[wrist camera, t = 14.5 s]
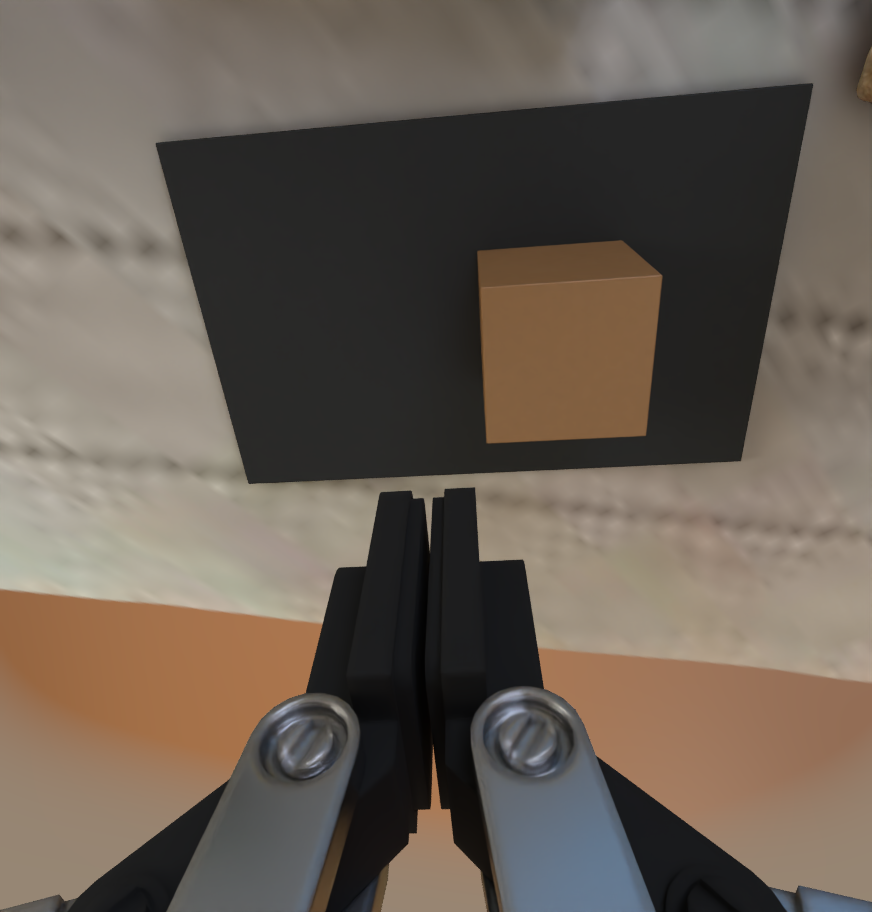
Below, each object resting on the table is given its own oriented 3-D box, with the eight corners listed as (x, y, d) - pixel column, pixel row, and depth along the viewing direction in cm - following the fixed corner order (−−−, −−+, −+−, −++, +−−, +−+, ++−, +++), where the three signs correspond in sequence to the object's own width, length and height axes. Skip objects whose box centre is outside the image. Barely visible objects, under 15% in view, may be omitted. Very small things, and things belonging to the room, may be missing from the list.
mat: (251, 478, 33) (248, 484, 32) (161, 142, 25) (154, 143, 24) (736, 455, 31) (741, 461, 30) (806, 83, 23) (814, 83, 22)
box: (646, 436, 23) (613, 374, 28) (662, 275, 20) (622, 239, 25) (486, 444, 23) (482, 382, 29) (479, 287, 21) (476, 250, 26)
